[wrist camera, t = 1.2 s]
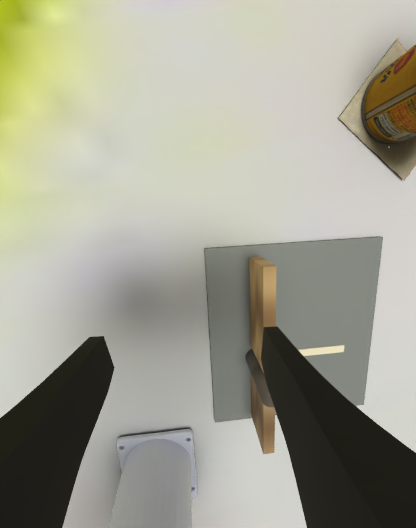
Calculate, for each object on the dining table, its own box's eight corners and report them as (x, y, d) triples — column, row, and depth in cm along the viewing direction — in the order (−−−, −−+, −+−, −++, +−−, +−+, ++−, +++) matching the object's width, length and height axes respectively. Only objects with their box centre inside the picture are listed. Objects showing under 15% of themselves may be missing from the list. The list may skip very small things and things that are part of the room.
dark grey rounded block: (264, 412, 25) (284, 463, 20) (246, 414, 25) (261, 466, 20) (264, 347, 23) (285, 384, 18) (245, 349, 23) (261, 387, 18)
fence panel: (260, 344, 23) (275, 371, 19) (250, 345, 23) (263, 372, 19) (259, 256, 21) (276, 266, 17) (249, 257, 21) (263, 266, 17)
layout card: (361, 402, 26) (364, 405, 26) (214, 419, 25) (215, 423, 24) (380, 236, 22) (383, 237, 21) (204, 248, 21) (204, 249, 20)
